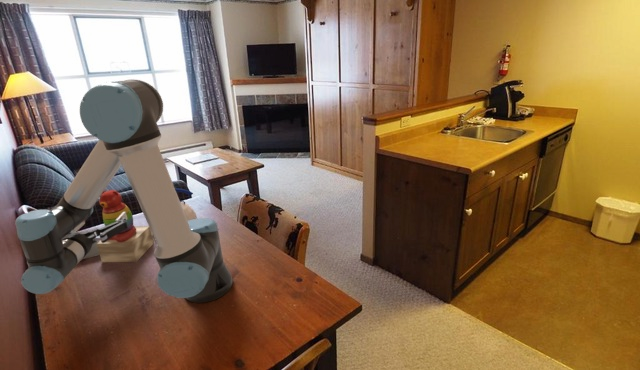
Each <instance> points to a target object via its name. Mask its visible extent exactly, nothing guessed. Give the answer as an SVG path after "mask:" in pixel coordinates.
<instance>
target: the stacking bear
mask: <svg viewBox="0 0 640 370" xmlns="http://www.w3.org/2000/svg"><path fill="white" fill-rule="evenodd" d="M122 198H123V197H122V195H121V193H120V192H119V191H117V190H113V189H111V190H107V191H106V190H104V191H103V193H102V194H101V196H100V197H99V199H98V203H99V205H100V206H101V207H102V208H103V209H102V220H103V221H102V222H103V224H104V227H105V226H107V225H109V224H112V223H114V222H116V221H115V220H116V219H117V218H118V217H119V216H120V215H121V214H122V213H123V212H126V215H127V220H126V222H127V226H128V228H127V229H125V230H124V231H122V232H120V233H119V234H117V235H115V236H113V237H112V238H110V239H109V240H112V239H113V240H116V241H117V242H124V241H126V240H128V239H129V238H131V237H132V236H133V235H134V234H135V232H136V228H135V227H136V226H135V225H134V218H133V217H134V216H133V214H132V211H131V210H130V207H128V206H127V205H126V203H124V202H122Z"/></svg>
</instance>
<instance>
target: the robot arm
mask: <svg viewBox="0 0 640 370" xmlns="http://www.w3.org/2000/svg"><path fill="white" fill-rule="evenodd" d="M163 112H164V102H163V99H162V96H161V94H160V93H159V91H158V90H157V89H156V88H155V87H154V86H153V85H151V84H150V83H148V82H146V81H143V80H141V79H134V78H133V79H126V80H116V81H115V80H114V81H106V82H104V83H101V84H98V85H95V86H93V87H91V88H90V89H89V90H87V92H85V94H84V95H83V97H82V99H81V101H80V104H79V115H80V116H79V117H80V120H81V123H82V125H83V127H84V128H85V130H86V131H87V132H88V133H89V134H90V135H91V136H93V137H96V139H98V141H97V142H96V143H95V146H94V147H93V148H92V150H91V152H90V153H89V155H88V157H87V158H86V159H85V161H84V163H83V164H82V166H81V168H80V169H79V170H78V172H77V173H76V175H75V176H74V177H73V179H72V181H71V183H70V184H69V186H68V187H67V189H66V191H65V192H64V193H63V195H62V197H61V198H60V199H59V201H58V203H57V204H56V205H55V206H54V207H52V208H51V209H35V210H31V211H28V212H25V213H22V214H20V215H19V216H18V217H17V218H16V219H15V221H14V224H15V227H16V234H17V238H18V239H19V242H20V246H21V248H22V250H23V253H24V256H25V261H26V264H27V266H28V268H27V269H26V270H25V272H23V274H22V275H21V279H20V283H21V286H22V287H23V288H24V290H26V291H27V292H30V293H32V294H35V295H45V294H48V293H50V292H52V291H54V290H55V288H58V286H60V284H62V283H63V282H64V280H65V279H66V277H68V275H69V274H70V273H71V272H72V271H73V270H74V268H76V266H77V265H78V264H79V263H80V261H82V260H84V259H83V258H84V257H85V256H86V255H87V253H88V252H89V251H90V250H91V247H92V244H93V243H95V242H97V241H101V242H102V243H105V242H106V241H107V240H109V239H110V238H112V237H113V236H115V235H117V234H119V233H120V232H122V231H124V230H125V229H127V228H128V226H127V222H126V220H127V215H126V212H123V213H122V214H121V215H120V216H119V217H118V218H117V219H116V220H115V221H116V222H114V223H112V224H109V225H107V226H105V225H104V226H102V227H100V228H93V229H91V230H89V231H83V232H78V231H79V230H80V229H81V228H82V227H83V226H84V225H85V224H86V221H87V220H88V219H89V217H90V216H91V215H92V214H93V212H94V206H95V205H96V203H97V202H98V201H99V199H100V196H101V195H102V193H103V191H106V188H107V187H108V185H109V184H110V182H111V181H112V179H114V176H116V173H117V172H118V171H119V169H120V168H121V166H122V169H123V170H124V173H125V176H126V178H127V180H128V183H129V185H130V186H131V189H132V191H133V193H134V196H135V197H136V200H137V202H138V205H139V207H140V209H141V211H142V213H143V216H144V218H145V220H146V223H147V226H149V227H150V229H151V232H152V234H153V236H152V237H153V239H154V240H155V242H156V245H157V246H156V248H154V252H153V255H154V257H155V260H156V262H157V264H158V266H159V268H160V269H159V271H158V272H157V276H156V277H157V278H156V281H157V285H158V287H159V289H160V290H161V291H162V293H164V294H166V295H168V296H171V297H174V298H178V299H185V300H186V301H189V302H192V303H195V304H197V303H198V304H199V303H201V304H202V303H203V304H204V303H208V302H212V301H215V300H218V299H220V298H221V297H223V296H224V295H226V294H228V292H229V291H230V290H231V288H232V286H233V278H232V277H233V276H232V273H231V271H230V270H229V269H228V266H226V265H227V264H226V263H225V262H224V258H223V250H222V246H221V240H220V234H219V233H220V231H219V228H218V224H217V223H218V222H216V220H214V219H213V218H202V217H201V218H197V219H193V220H189V221H187V218H186V216H185V213H184V211H183V208H182V206H181V203H180V201H181V200H180V199H179V196H178V193H177V191H176V190H175V188H176V187H175V186H174V183H173V180H172V178H171V175H170V172H169V170H168V167H167V164H166V163H165V160H164V158H163V155H162V152H161V149H160V147H159V141H160V140H161V137H162V133H161V130H160V128H159V126H158V124H157V122H158V121H159V120H160V119H161V117H162V115H163ZM94 233H96V234H97V237H96V235H95V234H94Z"/></svg>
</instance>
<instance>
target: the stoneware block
mask: <svg viewBox="0 0 640 370" xmlns="http://www.w3.org/2000/svg"><path fill="white" fill-rule="evenodd" d="M94 234H95V235H96V237H97V234H96V232H94ZM98 242H99V241H97V242H95V243H93V244H92V247H91V250H90V251H89V252H88V253H87V255H86V256H85V257H84V258H83V259H82V260H84V259H89V258H93V257H97V256H100V254H99V251H98V247H97V243H98Z"/></svg>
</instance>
